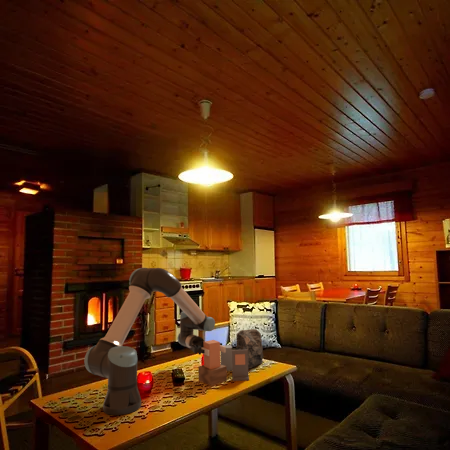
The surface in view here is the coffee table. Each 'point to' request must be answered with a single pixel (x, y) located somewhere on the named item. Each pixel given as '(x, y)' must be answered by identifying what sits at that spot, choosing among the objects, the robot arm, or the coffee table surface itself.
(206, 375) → the walnut block
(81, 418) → the coffee table surface
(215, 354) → the terracotta block
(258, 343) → the stone block
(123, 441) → the coffee table surface
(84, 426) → the coffee table surface
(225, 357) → the slate-grey block
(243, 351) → the charcoal sign
